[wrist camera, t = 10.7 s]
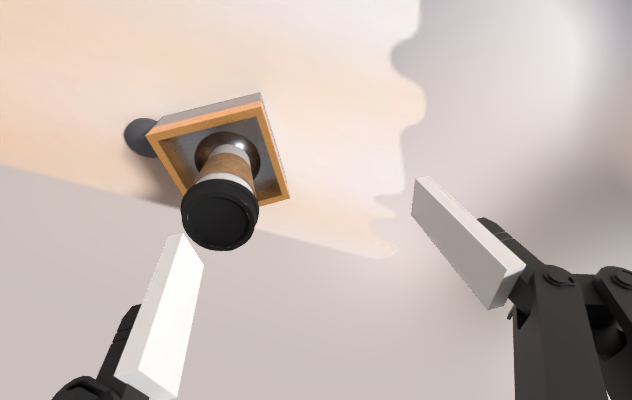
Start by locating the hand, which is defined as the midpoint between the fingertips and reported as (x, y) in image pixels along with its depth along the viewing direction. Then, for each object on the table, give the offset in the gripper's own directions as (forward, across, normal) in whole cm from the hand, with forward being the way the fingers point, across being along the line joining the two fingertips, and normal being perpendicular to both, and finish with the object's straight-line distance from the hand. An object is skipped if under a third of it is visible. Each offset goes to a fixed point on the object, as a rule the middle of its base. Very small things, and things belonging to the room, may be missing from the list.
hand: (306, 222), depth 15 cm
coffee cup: (+26, -9, -7) cm, 29 cm away
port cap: (+32, -20, -3) cm, 38 cm away
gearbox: (+31, -9, -7) cm, 33 cm away
